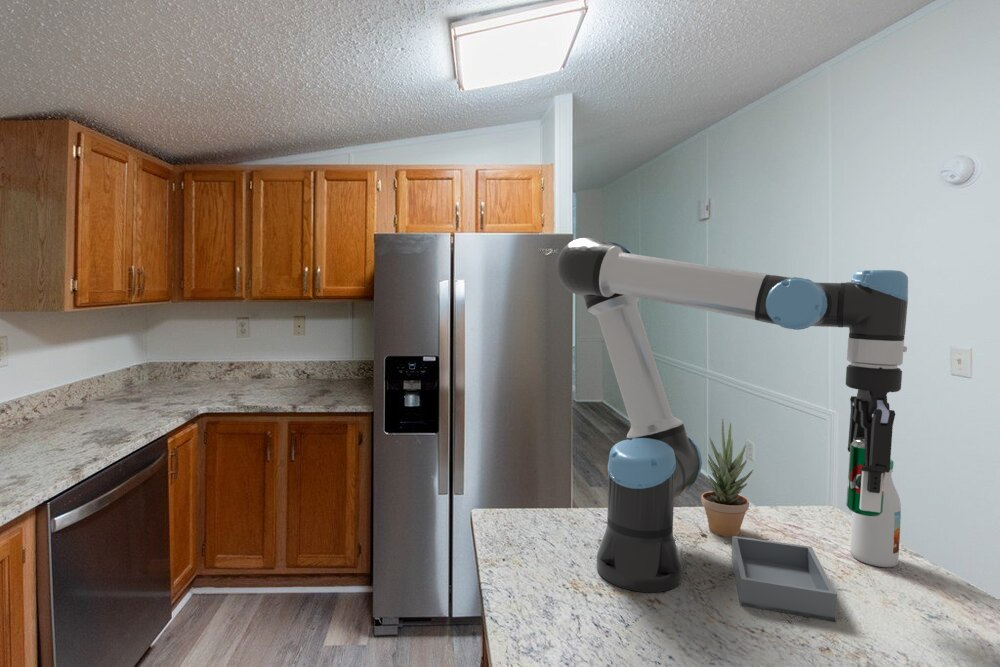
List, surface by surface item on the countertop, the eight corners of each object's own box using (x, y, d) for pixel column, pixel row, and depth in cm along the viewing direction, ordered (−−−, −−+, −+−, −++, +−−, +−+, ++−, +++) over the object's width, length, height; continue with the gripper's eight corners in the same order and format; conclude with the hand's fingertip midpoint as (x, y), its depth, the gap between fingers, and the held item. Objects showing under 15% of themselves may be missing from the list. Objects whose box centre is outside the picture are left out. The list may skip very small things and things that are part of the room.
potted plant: (719, 518, 125) (723, 412, 124) (757, 534, 117) (761, 420, 115) (689, 527, 120) (693, 416, 118) (726, 544, 112) (731, 425, 110)
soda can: (888, 519, 87) (894, 445, 87) (853, 515, 88) (859, 443, 88) (873, 507, 92) (878, 437, 92) (840, 504, 93) (845, 435, 93)
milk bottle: (884, 572, 101) (889, 466, 100) (841, 554, 107) (846, 455, 106) (906, 563, 104) (912, 460, 103) (864, 547, 111) (869, 450, 110)
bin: (740, 605, 89) (741, 579, 89) (731, 557, 106) (732, 535, 105) (835, 621, 85) (836, 594, 84) (810, 569, 101) (811, 546, 101)
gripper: (925, 373, 79) (912, 529, 81) (881, 361, 96) (872, 489, 98) (865, 370, 81) (854, 521, 83) (833, 358, 99) (824, 484, 100)
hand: (864, 503), depth 90 cm, fingers closed on soda can, 5 cm apart
